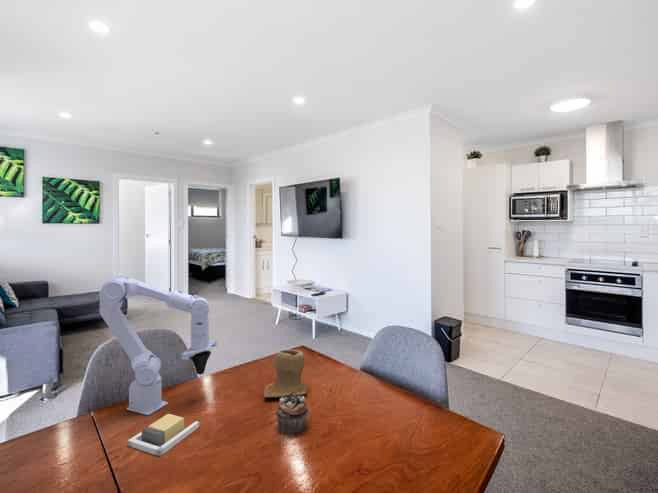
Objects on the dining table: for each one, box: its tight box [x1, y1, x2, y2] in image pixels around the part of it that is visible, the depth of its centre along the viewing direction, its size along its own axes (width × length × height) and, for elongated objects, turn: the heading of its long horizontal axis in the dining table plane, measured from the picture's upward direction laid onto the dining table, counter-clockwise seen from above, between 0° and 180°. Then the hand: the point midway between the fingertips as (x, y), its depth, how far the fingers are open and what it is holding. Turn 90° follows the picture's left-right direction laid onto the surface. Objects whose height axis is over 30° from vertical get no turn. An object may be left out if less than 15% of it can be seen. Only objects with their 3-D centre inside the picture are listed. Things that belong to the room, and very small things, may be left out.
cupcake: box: [275, 392, 309, 436], centre depth 102 cm, size 10×10×10 cm
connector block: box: [141, 413, 185, 447], centre depth 96 cm, size 6×9×4 cm
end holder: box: [127, 420, 200, 457], centre depth 97 cm, size 11×14×2 cm
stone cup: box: [263, 349, 308, 399], centre depth 123 cm, size 15×12×15 cm
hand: (200, 373), depth 116 cm, fingers closed
